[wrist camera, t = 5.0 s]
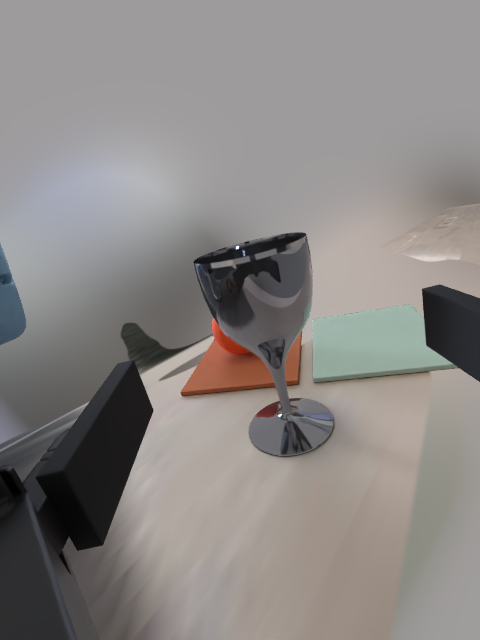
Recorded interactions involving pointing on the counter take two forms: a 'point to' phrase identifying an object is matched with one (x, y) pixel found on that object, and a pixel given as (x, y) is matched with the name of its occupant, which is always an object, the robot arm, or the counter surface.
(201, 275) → the wine glass
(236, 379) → the fruit mat
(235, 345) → the clementine
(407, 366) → the glass mat
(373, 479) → the counter surface
